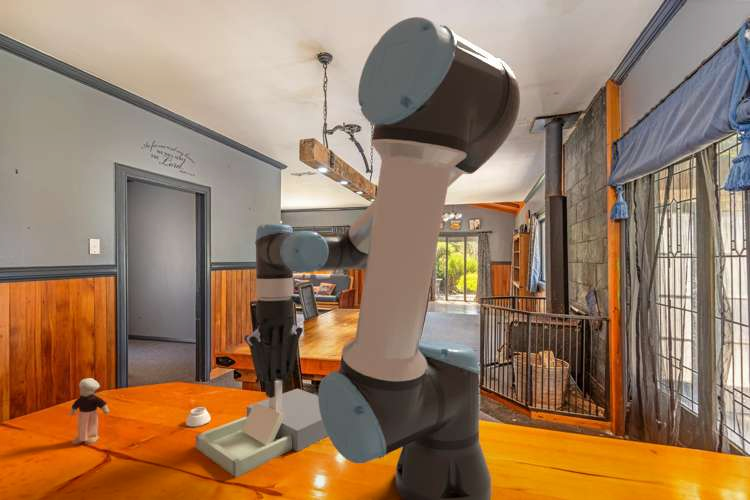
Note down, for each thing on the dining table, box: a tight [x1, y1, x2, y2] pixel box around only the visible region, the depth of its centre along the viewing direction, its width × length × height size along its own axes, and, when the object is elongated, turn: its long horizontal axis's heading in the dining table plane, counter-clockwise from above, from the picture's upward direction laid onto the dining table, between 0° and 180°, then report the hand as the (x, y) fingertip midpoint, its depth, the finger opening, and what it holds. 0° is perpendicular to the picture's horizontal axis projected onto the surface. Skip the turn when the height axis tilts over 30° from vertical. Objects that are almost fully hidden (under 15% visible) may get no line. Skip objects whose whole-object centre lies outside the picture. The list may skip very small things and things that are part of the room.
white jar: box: [185, 406, 211, 428], centre depth 84 cm, size 5×3×5 cm
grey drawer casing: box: [246, 388, 329, 452], centre depth 82 cm, size 18×14×4 cm
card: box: [241, 401, 285, 445], centre depth 75 cm, size 9×6×1 cm
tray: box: [195, 415, 293, 478], centre depth 72 cm, size 15×12×2 cm
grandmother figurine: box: [69, 377, 110, 445], centre depth 76 cm, size 8×4×13 cm, turn 102°
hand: (275, 410), depth 78 cm, fingers closed
